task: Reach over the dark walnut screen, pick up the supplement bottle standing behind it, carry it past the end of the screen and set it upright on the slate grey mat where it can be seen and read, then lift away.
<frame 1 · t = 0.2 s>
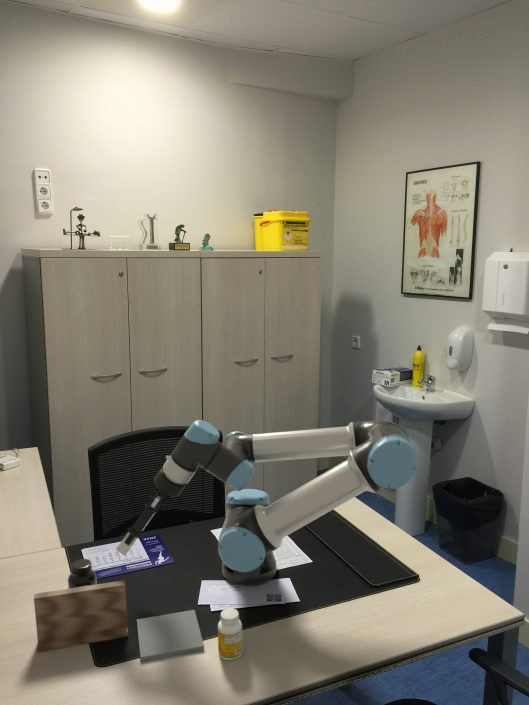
hand: (130, 539, 154), 16 cm above the table, tool tilted 35°, fingers open, 13 cm apart
supplement bottle 2: (230, 653, 135), on the table
walnut screen: (83, 635, 141), on the table
supplement bottle: (84, 608, 152), on the table
slate mat: (169, 636, 141), on the table
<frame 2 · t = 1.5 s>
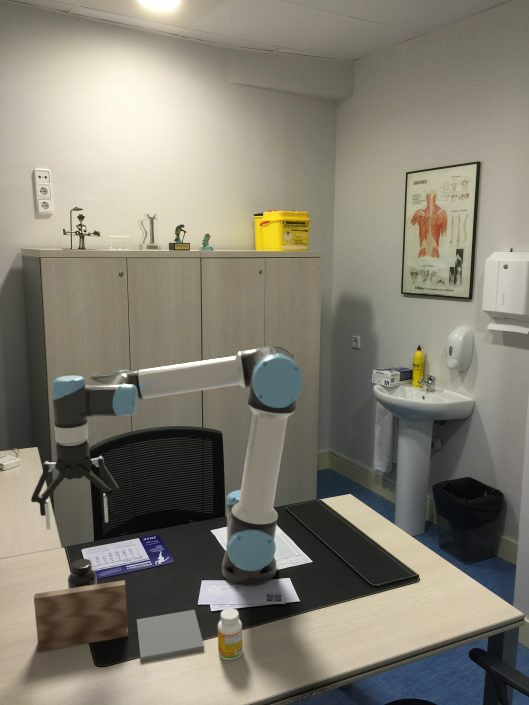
hand: (77, 523, 148), 23 cm above the table, tool pointing down, fingers open, 13 cm apart
nothing on the table moved.
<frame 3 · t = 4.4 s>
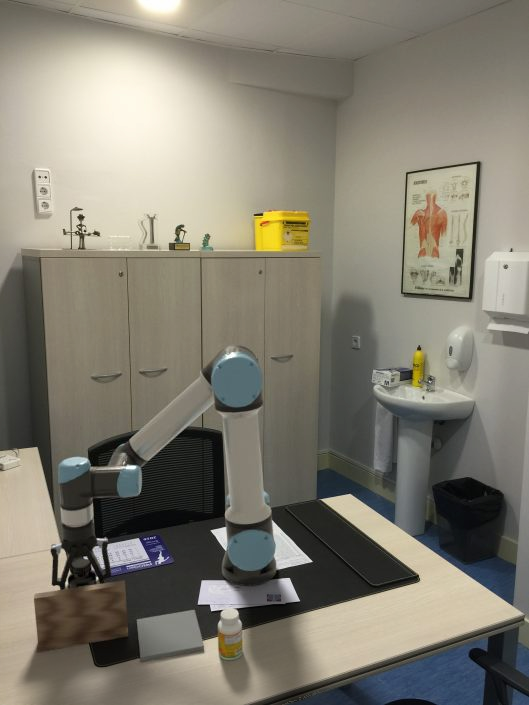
hand: (84, 605, 152), 1 cm above the table, tool pointing down, fingers closed on supplement bottle, 7 cm apart
supplement bottle: (84, 608, 152), on the table, touching gripper
everything else where it was.
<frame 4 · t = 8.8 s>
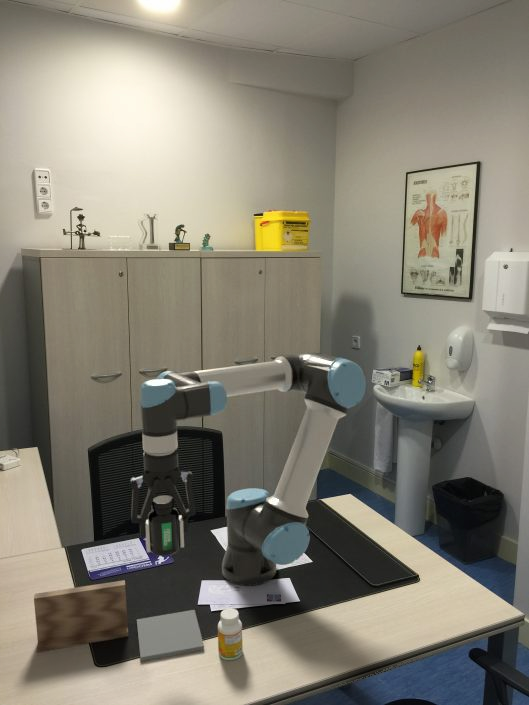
hand: (165, 546, 137), 23 cm above the table, tool pointing down, fingers closed on supplement bottle, 7 cm apart
supplement bottle: (165, 549, 137), point 22 cm above the table, touching gripper
everything else where it was.
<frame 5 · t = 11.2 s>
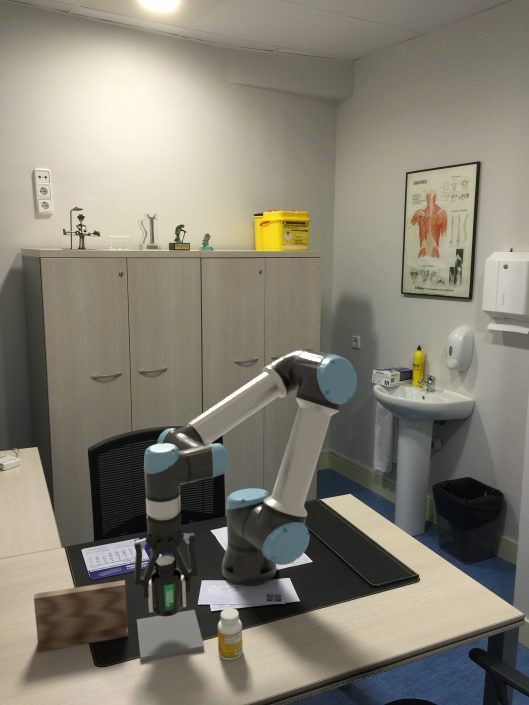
hand: (167, 606, 139), 8 cm above the table, tool pointing down, fingers closed on supplement bottle, 7 cm apart
supplement bottle: (167, 609, 139), point 7 cm above the table, touching gripper
everything else where it was.
when the fingers open (3 cm above the table, at t = 13.1 s): supplement bottle drops 1 cm, resting on slate mat.
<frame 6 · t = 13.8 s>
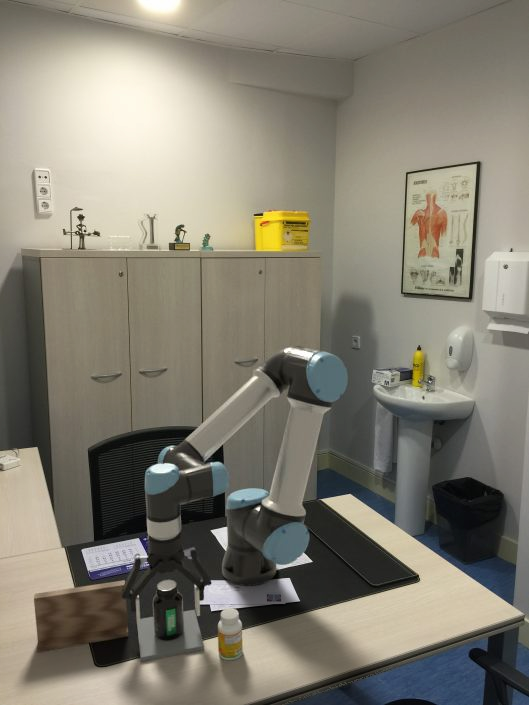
hand: (168, 617, 140), 5 cm above the table, tool pointing down, fingers open, 13 cm apart
supplement bottle: (169, 632, 141), point 1 cm above the table, touching slate mat
everything else where it was.
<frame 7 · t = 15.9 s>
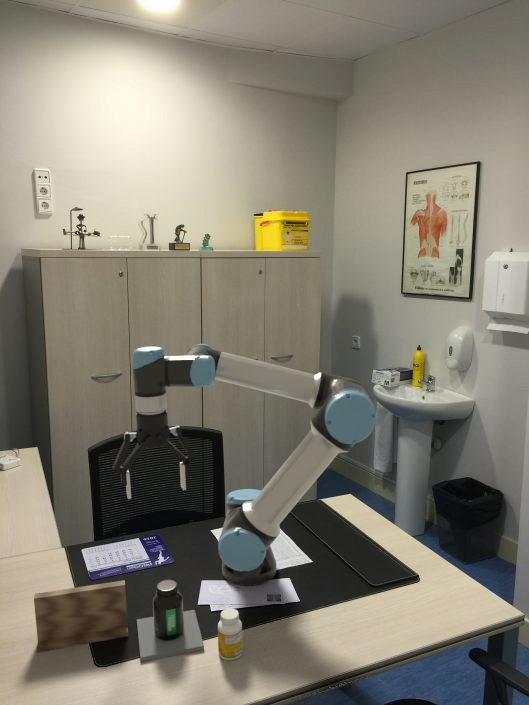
hand: (156, 492, 151), 29 cm above the table, tool pointing down, fingers open, 13 cm apart
nothing on the table moved.
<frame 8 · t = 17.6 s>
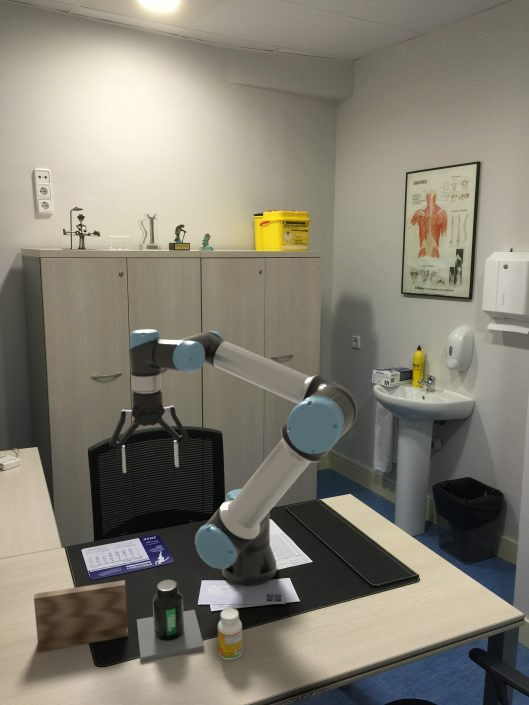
hand: (150, 468, 159), 32 cm above the table, tool pointing down, fingers open, 13 cm apart
nothing on the table moved.
at the end: supplement bottle inside the target area on the slate mat (0.1 cm from its centre), point 0.8 cm above the slate mat's base; supplement bottle tilted 0°; the gripper is holding nothing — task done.
